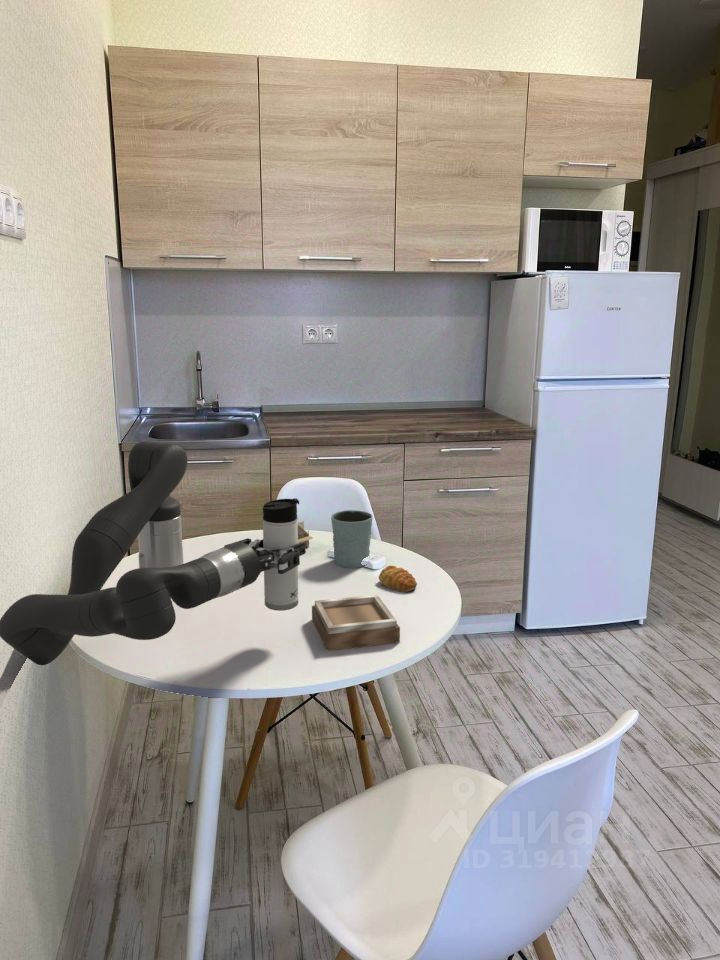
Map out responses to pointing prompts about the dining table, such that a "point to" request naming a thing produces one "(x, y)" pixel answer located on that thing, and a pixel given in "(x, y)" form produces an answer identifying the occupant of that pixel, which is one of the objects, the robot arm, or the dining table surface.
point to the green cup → (351, 537)
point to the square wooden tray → (354, 622)
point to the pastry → (397, 579)
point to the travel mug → (283, 534)
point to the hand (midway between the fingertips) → (289, 544)
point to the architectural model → (303, 534)
